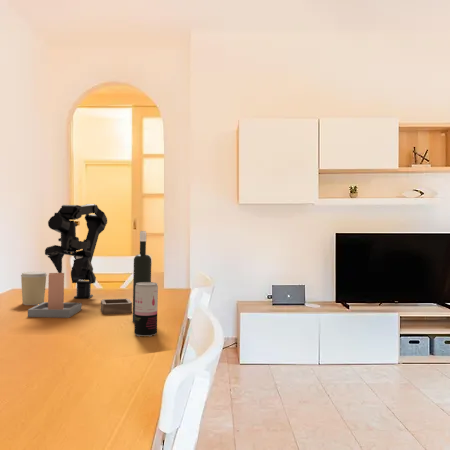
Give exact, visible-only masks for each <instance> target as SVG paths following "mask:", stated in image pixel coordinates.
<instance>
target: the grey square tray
mask: <svg viewBox="0 0 450 450" xmlns="http://www.w3.org/2000/svg"><path fill="white" fill-rule="evenodd" d="M82 305H83V304H82V302H64V309H48V301H47V302H46V301H44V302H43V303H41V304H39V305H33V307H31V308H28V309H27V318H65V319H66V318H67V319H68V318H71V317H73V316H74V315H76V314H77V313H79V312H80V311H82V308H83V307H82Z"/></svg>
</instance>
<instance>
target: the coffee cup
mask: <svg viewBox="0 0 450 450" xmlns="http://www.w3.org/2000/svg"><path fill="white" fill-rule="evenodd" d="M47 276H48V274H47V272H45V271H26V272H25V271H23V272H21V274H20V279H21V296H22V298H21V299H22V301H21V302H22V304H23V305H24V306H37V305H38V304H41V303H43V302H45V295H46V286H47V285H46V284H47V283H46V282H47Z"/></svg>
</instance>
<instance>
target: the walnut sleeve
mask: <svg viewBox="0 0 450 450" xmlns="http://www.w3.org/2000/svg"><path fill="white" fill-rule="evenodd" d="M100 311H101V314H103V315H114V314H131V313H133V301H132V300H131V299H130V298H110V299H109V298H104V299H101V300H100Z"/></svg>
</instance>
